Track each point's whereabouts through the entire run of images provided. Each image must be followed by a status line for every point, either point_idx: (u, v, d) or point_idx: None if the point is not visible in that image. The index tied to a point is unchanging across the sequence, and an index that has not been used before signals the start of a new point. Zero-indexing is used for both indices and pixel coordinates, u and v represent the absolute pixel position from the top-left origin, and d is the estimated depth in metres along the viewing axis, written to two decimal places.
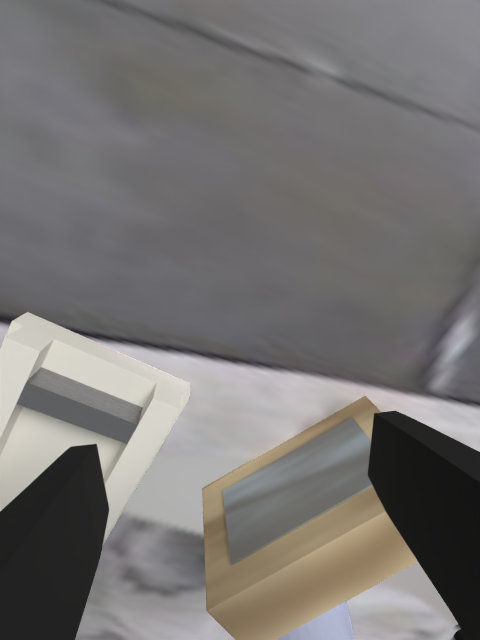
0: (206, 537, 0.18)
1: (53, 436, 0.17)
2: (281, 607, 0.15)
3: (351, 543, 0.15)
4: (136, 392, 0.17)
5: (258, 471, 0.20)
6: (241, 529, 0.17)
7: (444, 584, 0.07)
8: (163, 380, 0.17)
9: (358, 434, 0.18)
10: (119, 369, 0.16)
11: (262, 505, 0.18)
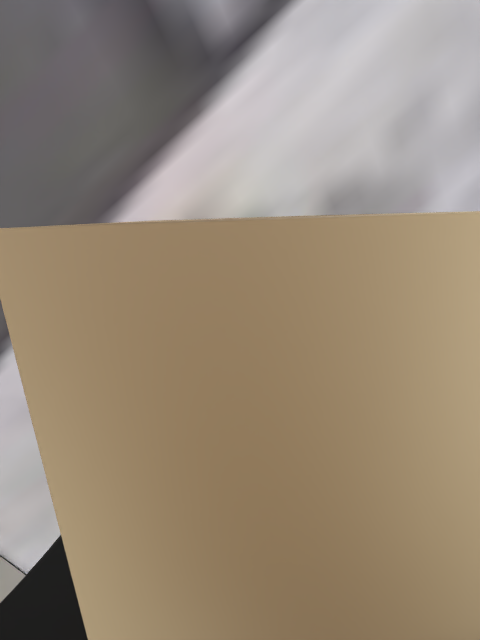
0: None
1: None
2: None
3: None
4: None
5: None
6: None
7: None
8: None
9: None
10: None
11: None
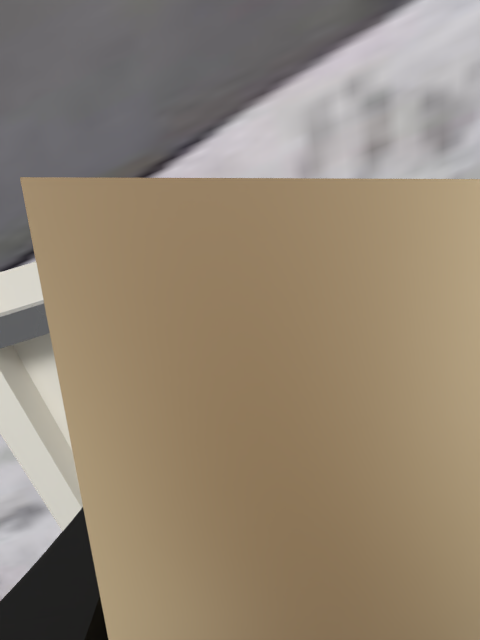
0: None
1: None
2: None
3: None
4: None
5: None
6: None
7: None
8: None
9: None
10: None
11: None
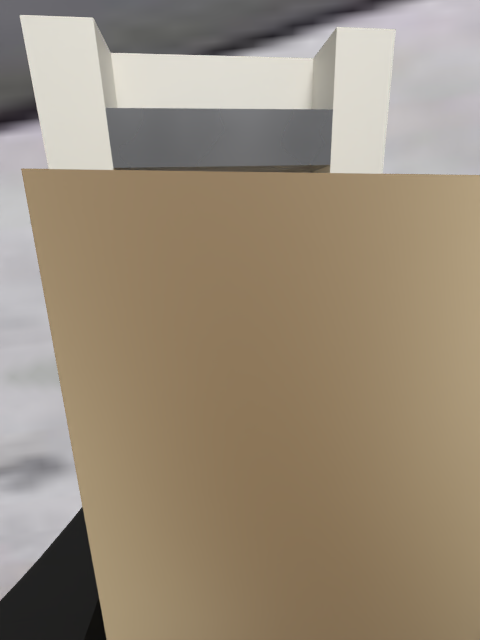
0: None
1: None
2: None
3: None
4: (289, 98, 0.09)
5: None
6: None
7: None
8: None
9: None
10: (241, 64, 0.09)
11: None
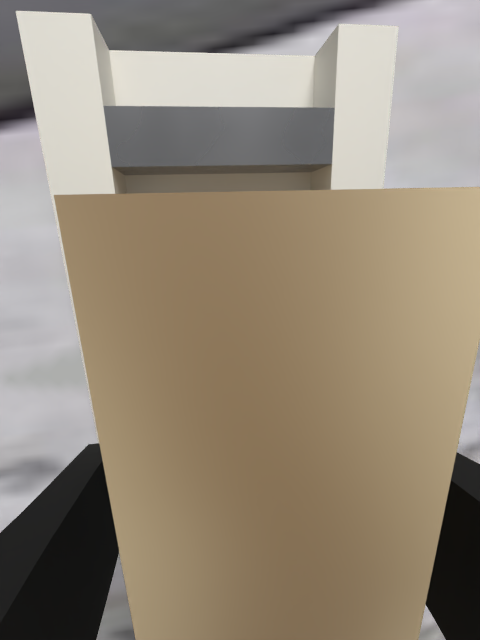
0: None
1: None
2: None
3: (193, 614, 0.04)
4: (290, 97, 0.09)
5: None
6: None
7: None
8: None
9: None
10: (242, 61, 0.08)
11: None
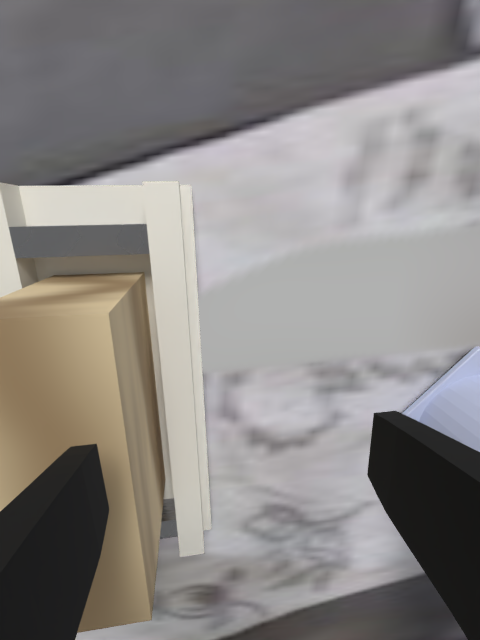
0: None
1: None
2: None
3: (16, 478, 0.10)
4: (134, 208, 0.14)
5: None
6: None
7: (444, 584, 0.07)
8: None
9: None
10: (101, 189, 0.14)
11: None
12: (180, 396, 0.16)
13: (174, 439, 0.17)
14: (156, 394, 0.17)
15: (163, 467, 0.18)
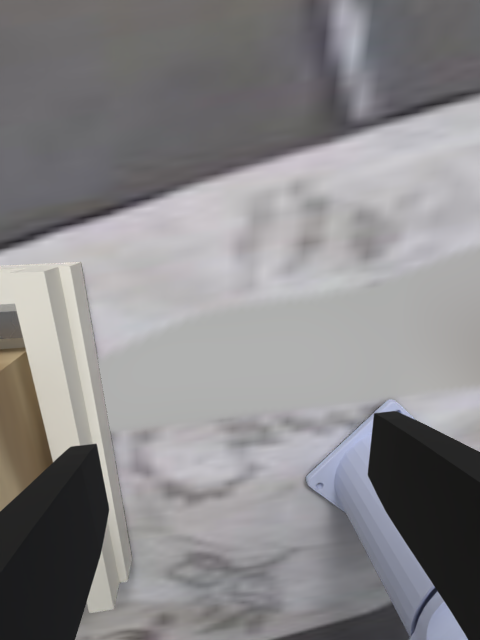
0: None
1: None
2: None
3: None
4: None
5: None
6: None
7: (444, 584, 0.07)
8: (38, 266, 0.15)
9: None
10: None
11: None
12: None
13: None
14: None
15: None
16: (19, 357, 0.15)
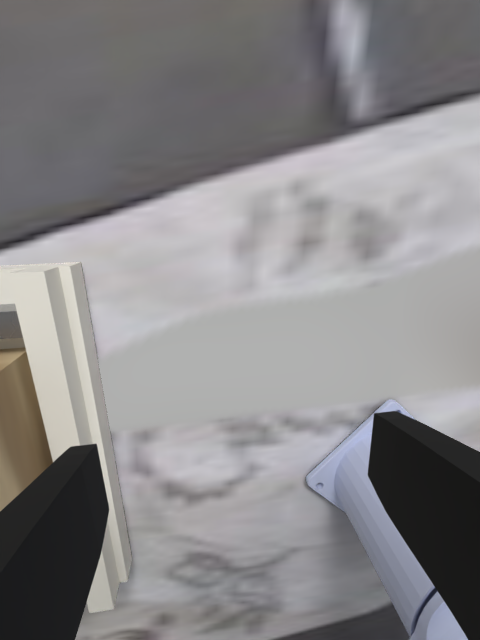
0: None
1: None
2: None
3: None
4: None
5: None
6: None
7: (444, 584, 0.07)
8: (38, 266, 0.15)
9: None
10: None
11: None
12: None
13: None
14: None
15: None
16: (19, 357, 0.15)
